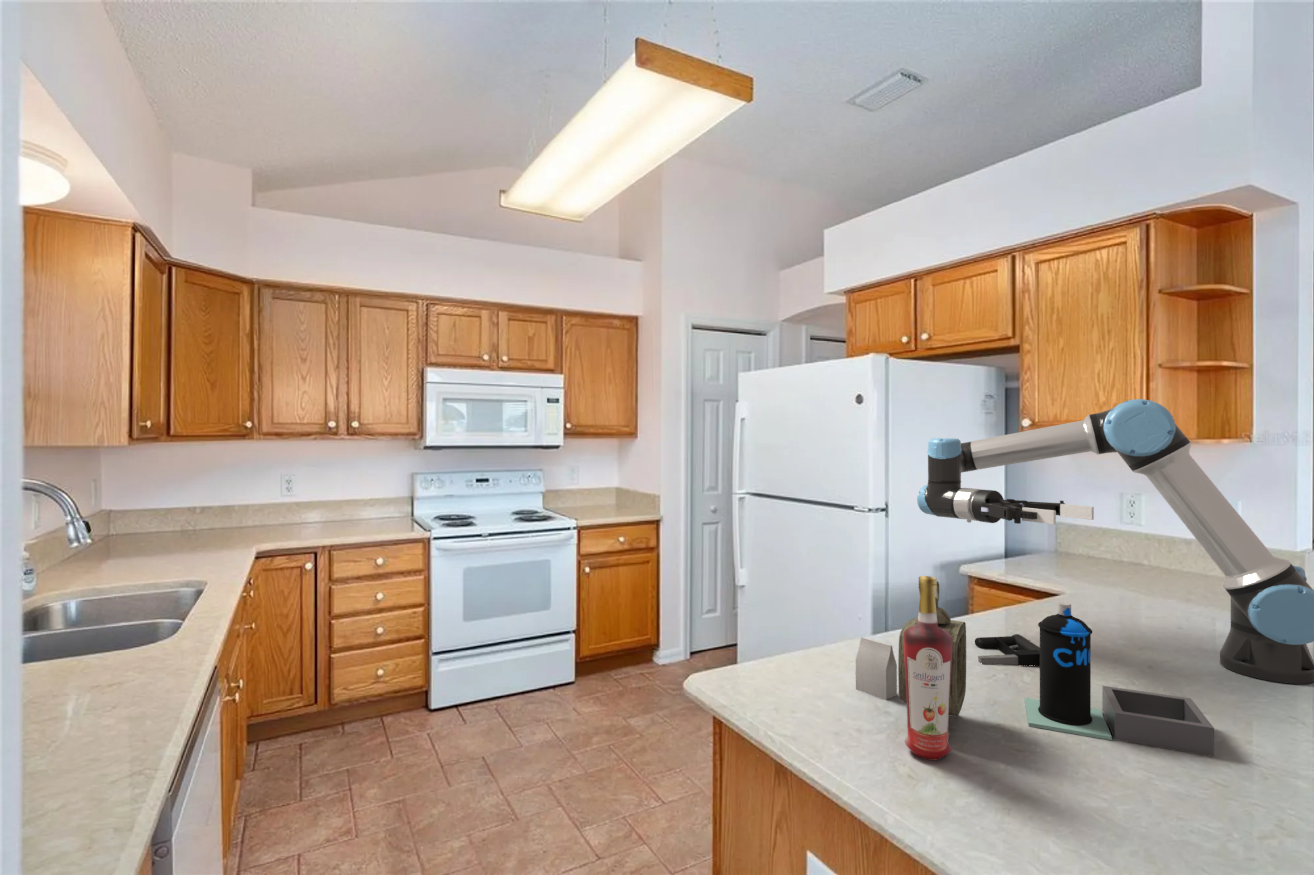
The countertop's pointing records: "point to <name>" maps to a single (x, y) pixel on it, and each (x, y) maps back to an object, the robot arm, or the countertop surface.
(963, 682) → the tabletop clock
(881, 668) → the tea bag
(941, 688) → the liquor
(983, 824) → the countertop surface
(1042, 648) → the aerosol can
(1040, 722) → the occupied pad
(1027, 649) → the door handle
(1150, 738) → the grey square tray
